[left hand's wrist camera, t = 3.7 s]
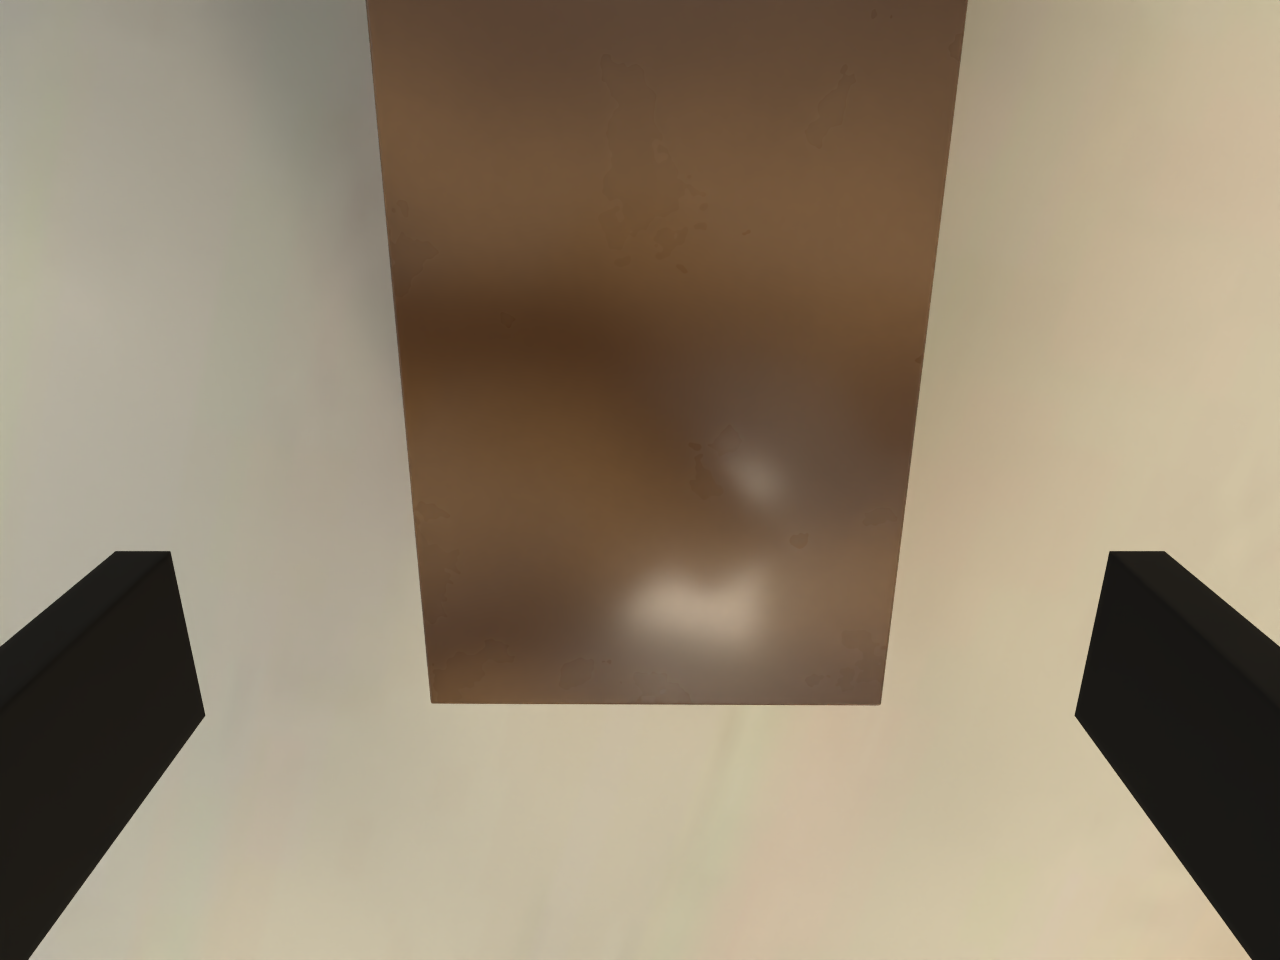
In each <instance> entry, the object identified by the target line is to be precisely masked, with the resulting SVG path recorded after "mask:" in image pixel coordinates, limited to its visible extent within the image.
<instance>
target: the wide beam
mask: <svg viewBox="0 0 1280 960" xmlns="http://www.w3.org/2000/svg"><path fill="white" fill-rule="evenodd" d="M967 3H968V0H366V9H367V20H368V30H369V41H370V52H371V63H372V73H373V84H374V95H375V106H376V117H377V127H378V138H379V149H380V160H381V171H382V181H383V192H384V203H385V214H386V224H387V235H388V246H389V257H390V268H391V278H392V289H393V300H394V311H395V321H396V332H397V343H398V354H399V365H400V375H401V386H402V397H403V408H404V418H405V429H406V440H407V451H408V462H409V472H410V483H411V494H412V505H413V515H414V526H415V537H416V548H417V559H418V569H419V580H420V591H421V602H422V612H423V623H424V634H425V645H426V656H427V666H428V677H429V688H430V699H431V703H443V704H688V705H880V704H881V698H882V690H883V681H884V673H885V665H886V657H887V649H888V641H889V633H890V625H891V617H892V609H893V601H894V593H895V585H896V576H897V568H898V560H899V552H900V544H901V536H902V528H903V520H904V512H905V504H906V496H907V488H908V480H909V472H910V463H911V455H912V447H913V439H914V431H915V423H916V415H917V407H918V399H919V391H920V383H921V375H922V367H923V359H924V350H925V342H926V334H927V326H928V318H929V310H930V302H931V294H932V286H933V278H934V270H935V262H936V254H937V245H938V237H939V229H940V221H941V213H942V205H943V197H944V189H945V181H946V173H947V165H948V157H949V149H950V141H951V132H952V124H953V116H954V108H955V100H956V92H957V84H958V76H959V68H960V60H961V52H962V44H963V36H964V28H965V19H966V11H967Z"/></svg>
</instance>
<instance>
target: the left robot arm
mask: <svg viewBox="0 0 1280 960" xmlns="http://www.w3.org/2000/svg"><path fill="white" fill-rule="evenodd" d="M204 717H205V712H204V707H203V702H202V698H201V693H200V688H199V684H198V679H197V674H196V669H195V665H194V660H193V655H192V651H191V646H190V641H189V637H188V632H187V627H186V622H185V618H184V613H183V608H182V604H181V599H180V594H179V590H178V585H177V580H176V575H175V571H174V566H173V561H172V557H171V552H170V551H115V552H114V553H113V554H112V555H110V556H109V557H108V558H107V559H106V560H104V561H103V562H102V563H101V564H100V565H98V566H97V567H96V568H95V569H94V570H92V571H91V572H90V573H89V574H88V575H86V576H85V577H84V578H83V579H81V580H80V581H79V582H78V583H77V584H75V585H74V586H73V587H72V588H71V589H69V590H68V591H67V592H66V593H65V594H63V595H62V596H61V597H60V598H59V599H57V600H56V601H55V602H54V603H53V604H51V605H50V606H49V607H48V608H46V609H45V610H44V611H43V612H42V613H40V614H39V615H38V616H37V617H36V618H34V619H33V620H32V621H31V622H30V623H28V624H27V625H26V626H25V627H24V628H22V629H21V630H20V631H19V632H18V633H16V634H15V635H14V636H13V637H11V638H10V639H9V640H8V641H7V642H5V643H4V644H3V645H2V646H1V647H0V960H28V959H29V958H30V956H31V955H32V954H33V952H34V951H35V949H36V948H37V947H38V945H39V944H40V943H41V941H42V940H43V938H44V937H45V936H46V934H47V933H48V932H49V930H50V929H51V927H52V926H53V925H54V923H55V922H56V921H57V919H58V918H59V916H60V915H61V914H62V912H63V911H64V910H65V908H66V907H67V905H68V904H69V903H70V901H71V900H72V899H73V897H74V896H75V894H76V893H77V892H78V890H79V889H80V888H81V886H82V885H83V883H84V882H85V881H86V879H87V878H88V876H89V875H90V874H91V872H92V871H93V870H94V868H95V867H96V865H97V864H98V863H99V861H100V860H101V859H102V857H103V856H104V854H105V853H106V852H107V850H108V849H109V848H110V846H111V845H112V843H113V842H114V841H115V839H116V838H117V837H118V835H119V834H120V832H121V831H122V830H123V828H124V827H125V826H126V824H127V823H128V821H129V820H130V819H131V817H132V816H133V815H134V813H135V812H136V810H137V809H138V808H139V806H140V805H141V803H142V802H143V801H144V799H145V798H146V797H147V795H148V794H149V792H150V791H151V790H152V788H153V787H154V786H155V784H156V783H157V781H158V780H159V779H160V777H161V776H162V775H163V773H164V772H165V770H166V769H167V768H168V766H169V765H170V764H171V762H172V761H173V759H174V758H175V757H176V755H177V754H178V753H179V751H180V750H181V748H182V747H183V746H184V744H185V743H186V742H187V740H188V739H189V737H190V736H191V735H192V733H193V732H194V731H195V729H196V728H197V726H198V725H199V724H200V722H201V721H202V719H203V718H204ZM1075 717H1076V718H1077V719H1078V721H1079V722H1080V724H1081V725H1082V726H1083V728H1084V729H1085V731H1086V732H1087V733H1088V735H1089V736H1090V737H1091V739H1092V740H1093V742H1094V743H1095V744H1096V746H1097V747H1098V748H1099V750H1100V751H1101V753H1102V754H1103V755H1104V757H1105V758H1106V759H1107V761H1108V762H1109V764H1110V765H1111V766H1112V768H1113V769H1114V770H1115V772H1116V773H1117V775H1118V776H1119V777H1120V779H1121V780H1122V781H1123V783H1124V784H1125V786H1126V787H1127V788H1128V790H1129V791H1130V792H1131V794H1132V795H1133V797H1134V798H1135V799H1136V801H1137V802H1138V803H1139V805H1140V806H1141V808H1142V809H1143V810H1144V812H1145V813H1146V815H1147V816H1148V817H1149V819H1150V820H1151V821H1152V823H1153V824H1154V826H1155V827H1156V828H1157V830H1158V831H1159V832H1160V834H1161V835H1162V837H1163V838H1164V839H1165V841H1166V842H1167V843H1168V845H1169V846H1170V848H1171V849H1172V850H1173V852H1174V853H1175V854H1176V856H1177V857H1178V859H1179V860H1180V861H1181V863H1182V864H1183V865H1184V867H1185V868H1186V870H1187V871H1188V872H1189V874H1190V875H1191V876H1192V878H1193V879H1194V881H1195V882H1196V883H1197V885H1198V886H1199V888H1200V889H1201V890H1202V892H1203V893H1204V894H1205V896H1206V897H1207V899H1208V900H1209V901H1210V903H1211V904H1212V905H1213V907H1214V908H1215V910H1216V911H1217V912H1218V914H1219V915H1220V916H1221V918H1222V919H1223V921H1224V922H1225V923H1226V925H1227V926H1228V927H1229V929H1230V930H1231V932H1232V933H1233V934H1234V936H1235V937H1236V938H1237V940H1238V941H1239V943H1240V944H1241V945H1242V947H1243V948H1244V949H1245V951H1246V952H1247V954H1248V955H1249V956H1250V958H1251V959H1252V960H1280V647H1279V646H1278V645H1277V644H1276V643H1275V642H1273V641H1272V640H1271V639H1270V638H1269V637H1267V636H1266V635H1265V634H1264V633H1262V632H1261V631H1260V630H1259V629H1258V628H1256V627H1255V626H1254V625H1253V624H1252V623H1250V622H1249V621H1248V620H1247V619H1246V618H1244V617H1243V616H1242V615H1241V614H1240V613H1238V612H1237V611H1236V610H1235V609H1234V608H1232V607H1231V606H1230V605H1229V604H1227V603H1226V602H1225V601H1224V600H1223V599H1221V598H1220V597H1219V596H1218V595H1217V594H1215V593H1214V592H1213V591H1212V590H1211V589H1209V588H1208V587H1207V586H1206V585H1205V584H1203V583H1202V582H1201V581H1200V580H1198V579H1197V578H1196V577H1195V576H1194V575H1192V574H1191V573H1190V572H1189V571H1188V570H1186V569H1185V568H1184V567H1183V566H1182V565H1180V564H1179V563H1178V562H1177V561H1176V560H1174V559H1173V558H1172V557H1171V556H1170V555H1168V554H1167V553H1166V552H1165V551H1110V552H1109V557H1108V561H1107V566H1106V571H1105V575H1104V580H1103V585H1102V590H1101V594H1100V599H1099V604H1098V608H1097V613H1096V618H1095V622H1094V627H1093V632H1092V637H1091V641H1090V646H1089V651H1088V655H1087V660H1086V665H1085V669H1084V674H1083V679H1082V684H1081V688H1080V693H1079V698H1078V702H1077V707H1076V712H1075Z"/></svg>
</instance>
